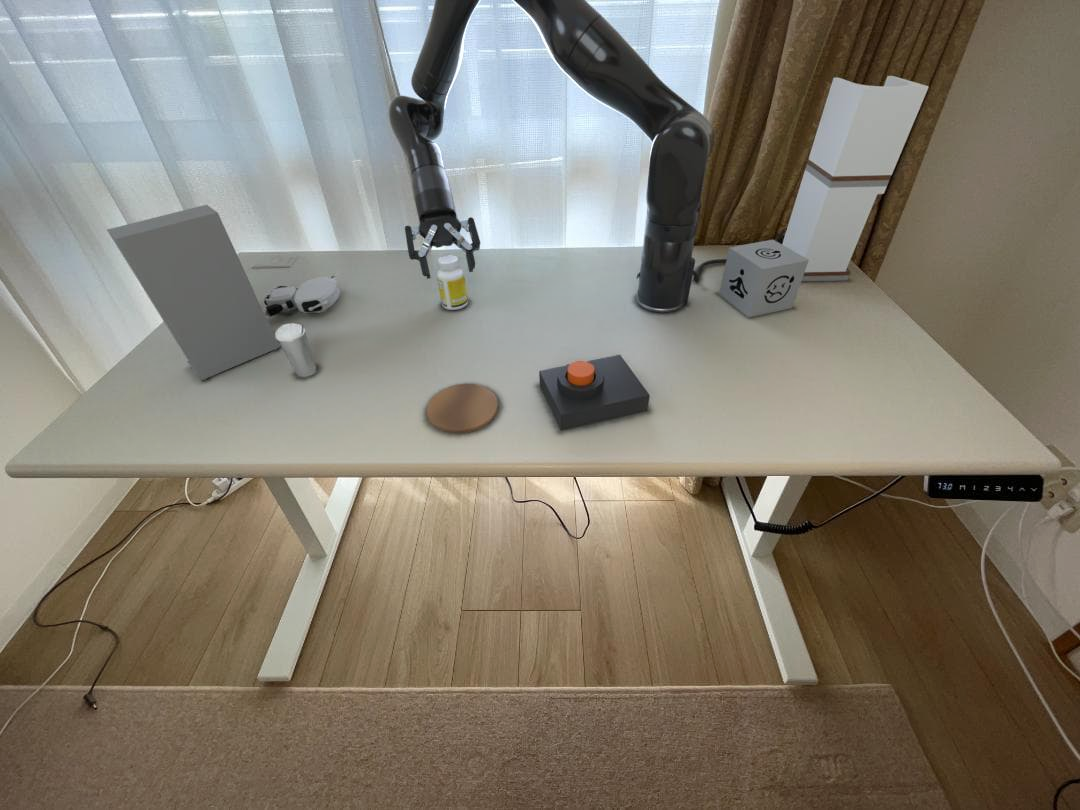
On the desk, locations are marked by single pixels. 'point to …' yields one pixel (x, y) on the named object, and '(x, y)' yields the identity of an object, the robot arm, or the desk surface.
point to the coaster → (462, 408)
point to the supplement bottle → (451, 283)
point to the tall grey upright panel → (197, 287)
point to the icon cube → (762, 277)
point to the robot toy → (303, 297)
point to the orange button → (580, 373)
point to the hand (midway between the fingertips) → (450, 274)
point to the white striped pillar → (849, 170)
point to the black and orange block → (594, 393)
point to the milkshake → (296, 348)
